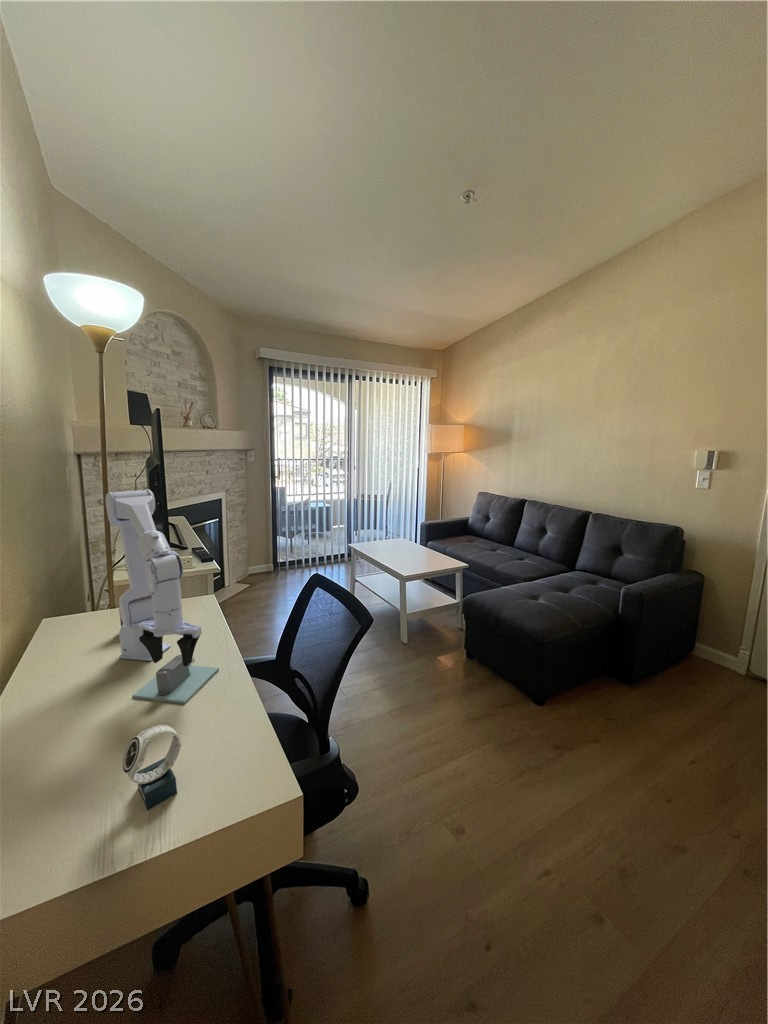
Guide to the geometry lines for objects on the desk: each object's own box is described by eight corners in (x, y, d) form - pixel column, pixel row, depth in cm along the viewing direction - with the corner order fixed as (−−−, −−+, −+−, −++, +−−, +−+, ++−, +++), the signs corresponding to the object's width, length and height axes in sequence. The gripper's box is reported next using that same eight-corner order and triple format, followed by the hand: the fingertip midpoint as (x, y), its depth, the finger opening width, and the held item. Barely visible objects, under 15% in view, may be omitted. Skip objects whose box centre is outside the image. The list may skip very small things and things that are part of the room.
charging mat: (132, 697, 87) (132, 695, 87) (172, 665, 100) (171, 663, 100) (185, 703, 86) (185, 701, 85) (218, 670, 98) (218, 667, 98)
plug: (154, 695, 87) (152, 674, 86) (186, 667, 98) (184, 649, 97) (167, 696, 87) (164, 676, 86) (197, 668, 98) (195, 650, 97)
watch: (124, 795, 63) (116, 736, 61) (177, 767, 69) (172, 711, 67) (132, 819, 59) (124, 756, 57) (188, 787, 65) (183, 728, 63)
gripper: (125, 612, 86) (131, 668, 88) (185, 617, 83) (190, 675, 86) (148, 599, 92) (154, 652, 95) (205, 604, 90) (209, 658, 93)
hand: (172, 662), depth 91 cm, fingers open, 7 cm apart
